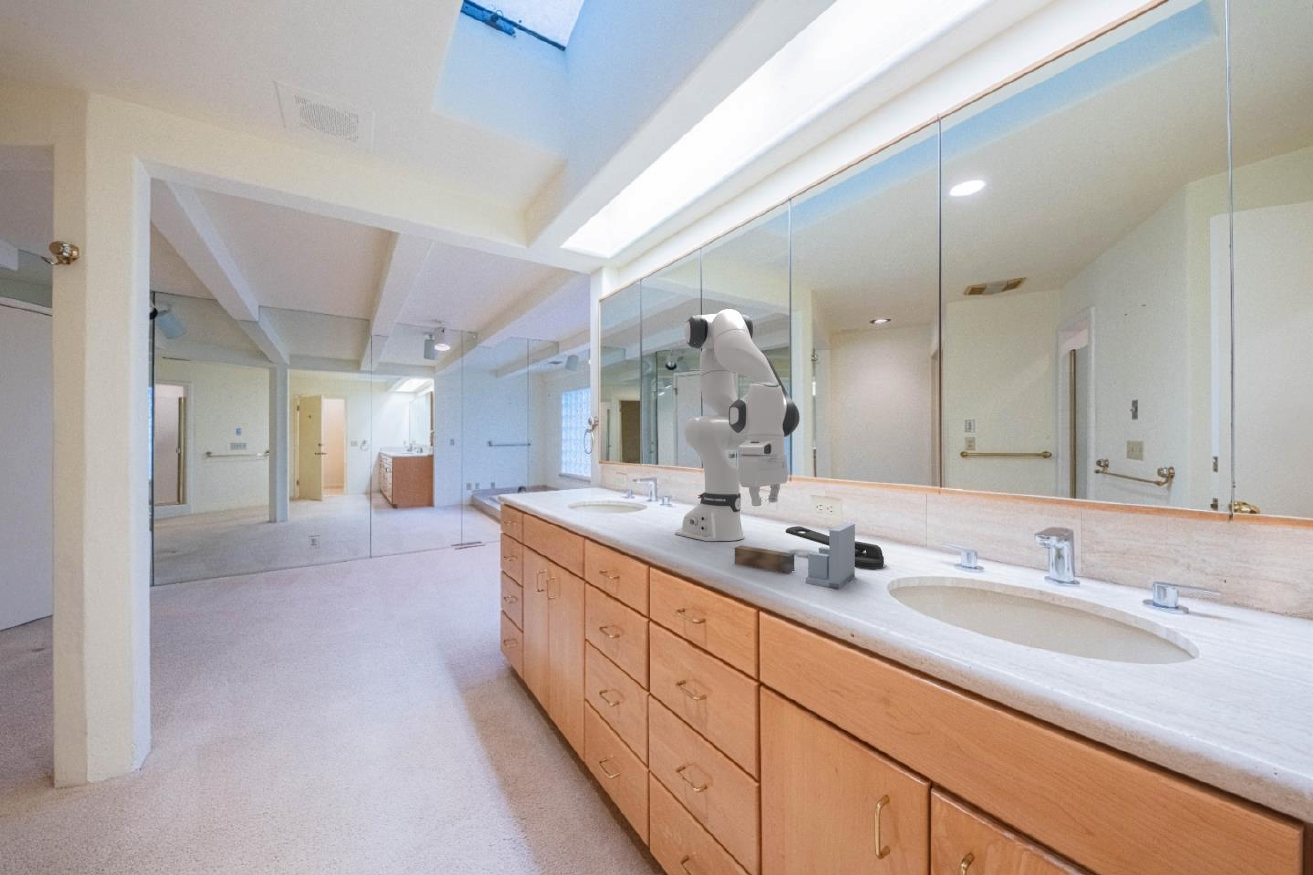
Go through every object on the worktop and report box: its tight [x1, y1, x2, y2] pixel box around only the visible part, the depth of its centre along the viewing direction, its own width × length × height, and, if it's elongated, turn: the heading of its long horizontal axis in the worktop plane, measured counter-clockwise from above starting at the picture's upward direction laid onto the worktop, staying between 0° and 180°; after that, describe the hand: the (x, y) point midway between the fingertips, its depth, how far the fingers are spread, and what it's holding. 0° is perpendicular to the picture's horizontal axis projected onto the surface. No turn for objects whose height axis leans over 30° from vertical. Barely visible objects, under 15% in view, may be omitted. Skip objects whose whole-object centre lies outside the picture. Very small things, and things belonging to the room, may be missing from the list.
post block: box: [805, 522, 856, 590], centre depth 102 cm, size 7×12×12 cm, turn 142°
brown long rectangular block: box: [734, 544, 795, 575], centre depth 112 cm, size 14×4×4 cm, turn 52°
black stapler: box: [785, 525, 885, 571], centre depth 121 cm, size 9×7×25 cm
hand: (765, 504), depth 112 cm, fingers open, 8 cm apart
